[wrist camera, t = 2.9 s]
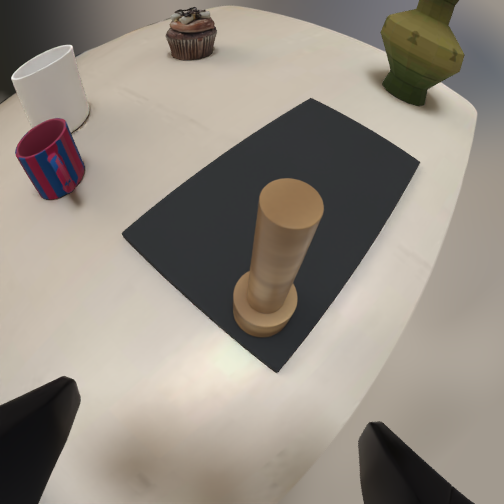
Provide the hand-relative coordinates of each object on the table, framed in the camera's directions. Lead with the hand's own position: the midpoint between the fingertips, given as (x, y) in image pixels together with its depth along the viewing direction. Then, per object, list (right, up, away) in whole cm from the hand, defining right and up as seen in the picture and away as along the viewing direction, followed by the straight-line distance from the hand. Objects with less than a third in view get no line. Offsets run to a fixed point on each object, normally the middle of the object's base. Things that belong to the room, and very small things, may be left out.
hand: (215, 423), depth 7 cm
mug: (-28, +25, +28) cm, 47 cm away
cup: (-21, +12, +22) cm, 33 cm away
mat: (+6, +11, +23) cm, 26 cm away
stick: (+2, 0, +15) cm, 16 cm away
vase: (+31, +36, +39) cm, 61 cm away
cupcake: (-10, +43, +40) cm, 60 cm away
